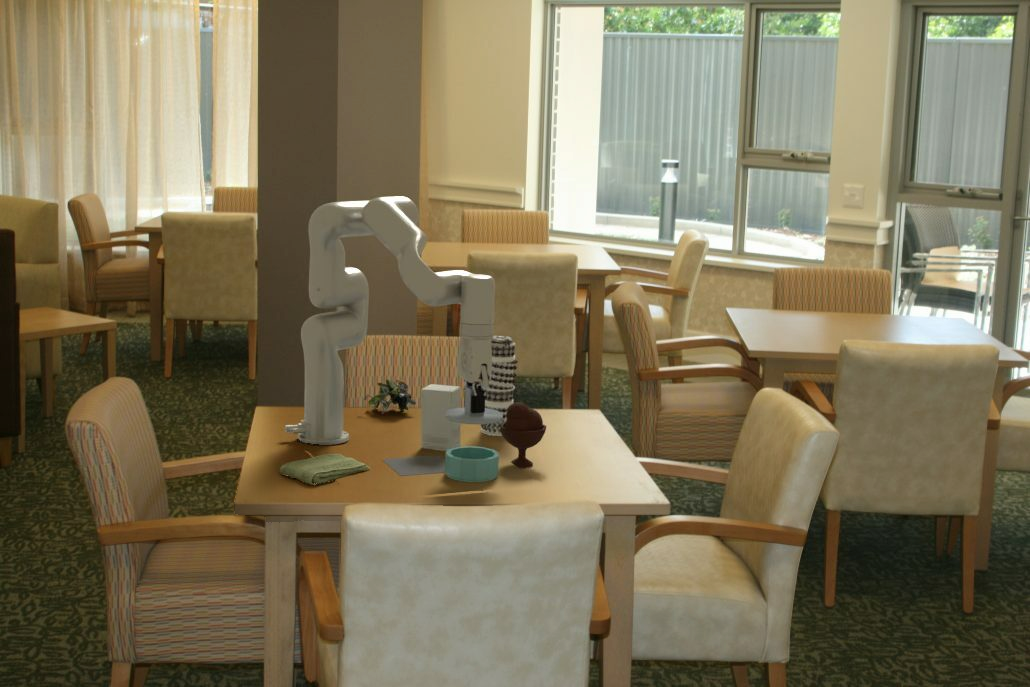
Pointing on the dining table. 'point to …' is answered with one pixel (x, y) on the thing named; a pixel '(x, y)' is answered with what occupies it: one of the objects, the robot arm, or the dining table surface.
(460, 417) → the lid
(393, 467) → the mat
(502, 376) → the decorative candle
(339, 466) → the washcloth
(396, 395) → the green leafy plant
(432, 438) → the skincare box
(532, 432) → the ice cream bowl
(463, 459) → the bowl
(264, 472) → the dining table surface
